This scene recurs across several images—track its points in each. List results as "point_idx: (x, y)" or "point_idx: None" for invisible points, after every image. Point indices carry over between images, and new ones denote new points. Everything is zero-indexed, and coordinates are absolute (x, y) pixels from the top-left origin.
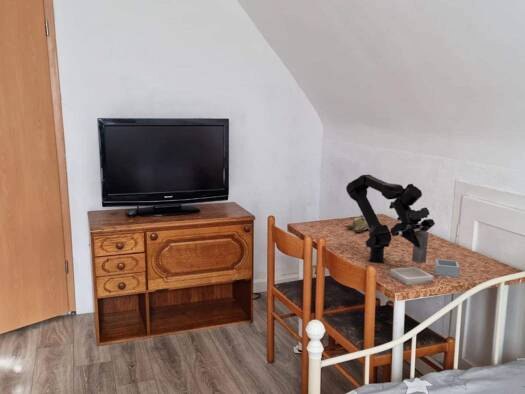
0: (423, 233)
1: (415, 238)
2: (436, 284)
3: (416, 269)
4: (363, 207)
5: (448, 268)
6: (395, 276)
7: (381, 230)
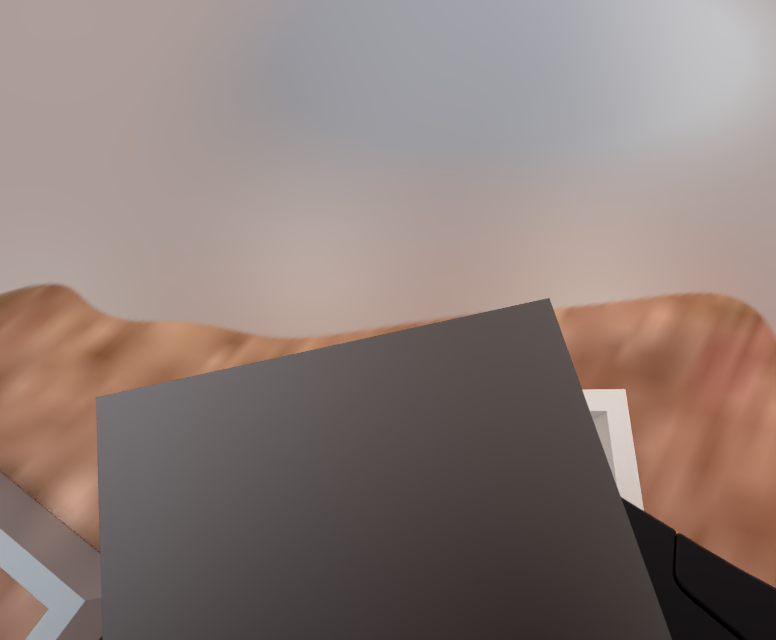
0: (431, 330)
1: (637, 535)
2: None
3: None
4: None
5: (6, 520)
6: None
7: None
